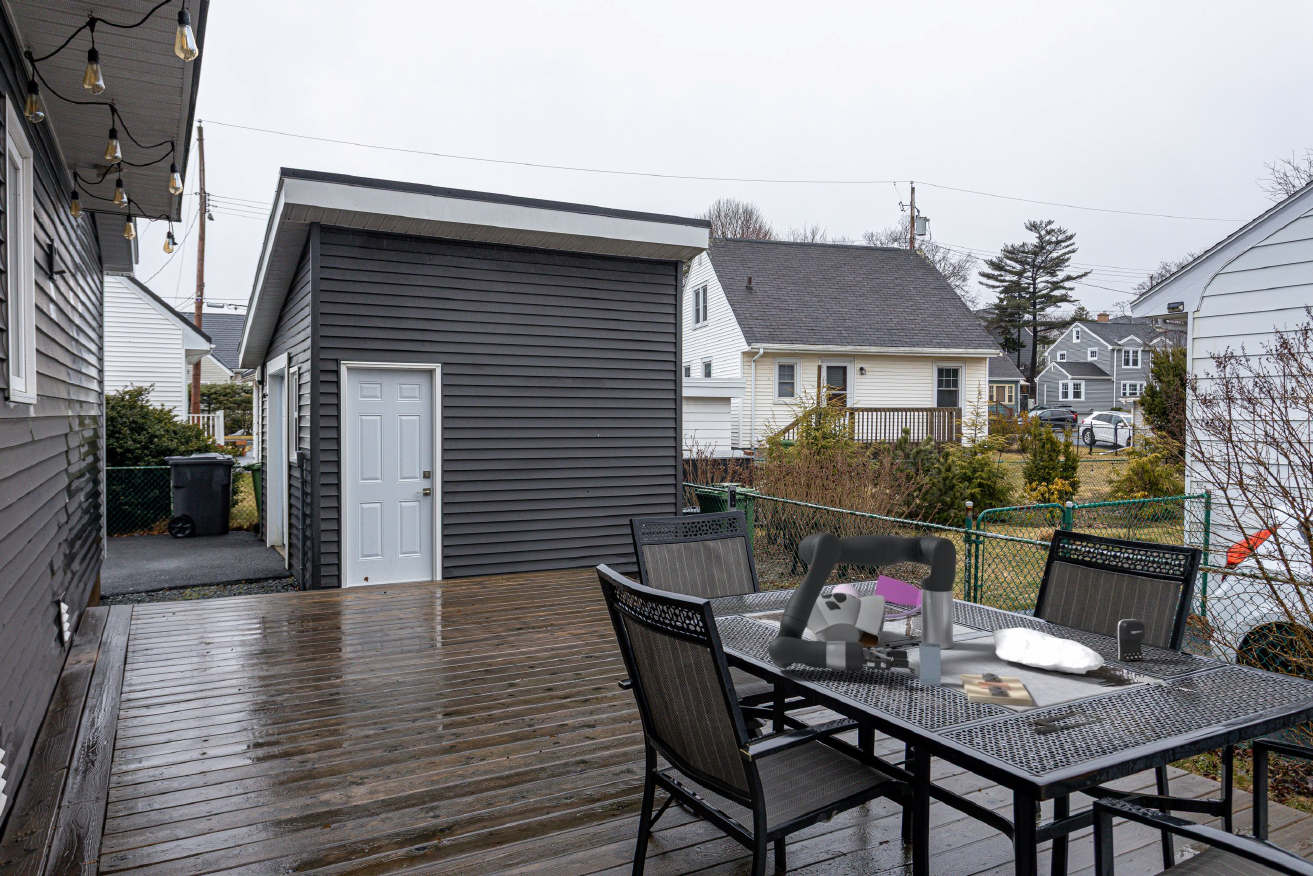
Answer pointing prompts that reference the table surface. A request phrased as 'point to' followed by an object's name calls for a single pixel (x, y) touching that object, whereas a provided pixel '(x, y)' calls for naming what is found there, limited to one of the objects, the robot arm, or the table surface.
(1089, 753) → the table surface
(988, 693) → the tan flat wooden board
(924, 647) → the link block
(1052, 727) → the hacksaw
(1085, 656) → the crumpled cloth
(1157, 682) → the pliers
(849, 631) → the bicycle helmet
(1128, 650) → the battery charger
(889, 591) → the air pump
